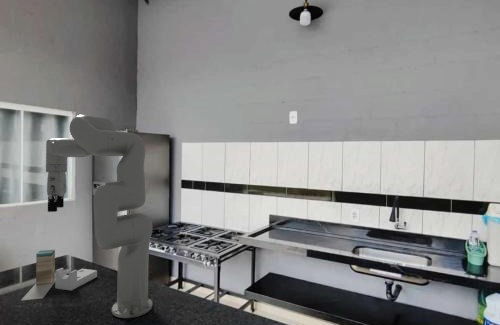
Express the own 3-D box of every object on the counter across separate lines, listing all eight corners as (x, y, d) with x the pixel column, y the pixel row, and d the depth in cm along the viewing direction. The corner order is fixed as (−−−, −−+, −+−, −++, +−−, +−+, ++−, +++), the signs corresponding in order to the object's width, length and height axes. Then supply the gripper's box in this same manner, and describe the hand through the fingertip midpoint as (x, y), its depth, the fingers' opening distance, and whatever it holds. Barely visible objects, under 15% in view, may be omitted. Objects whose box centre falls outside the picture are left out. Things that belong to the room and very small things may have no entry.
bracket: (71, 293, 111) (71, 272, 111) (55, 290, 113) (55, 270, 112) (96, 279, 124) (97, 260, 124) (82, 277, 125) (82, 258, 125)
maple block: (51, 284, 116) (51, 252, 116) (36, 285, 114) (36, 253, 114) (54, 279, 120) (54, 249, 120) (39, 281, 118) (40, 250, 118)
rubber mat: (42, 299, 105) (42, 298, 105) (20, 302, 103) (20, 300, 103) (58, 278, 123) (58, 276, 123) (40, 279, 121) (40, 278, 121)
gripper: (60, 169, 120) (60, 213, 121) (72, 167, 137) (71, 205, 137) (38, 169, 118) (38, 213, 118) (52, 167, 134) (52, 205, 135)
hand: (55, 209), depth 128 cm, fingers open, 8 cm apart
